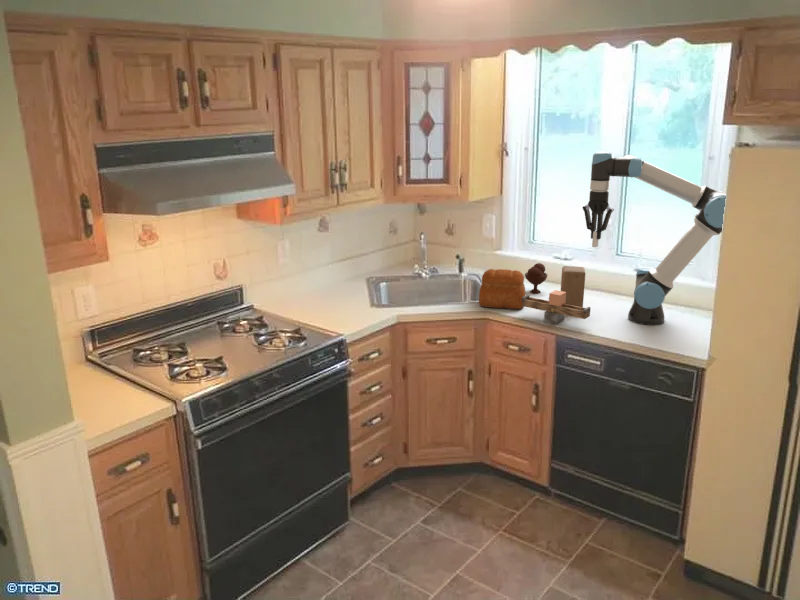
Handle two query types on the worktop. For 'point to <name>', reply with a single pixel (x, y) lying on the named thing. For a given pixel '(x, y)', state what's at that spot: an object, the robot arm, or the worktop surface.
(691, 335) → the worktop surface
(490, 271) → the bread
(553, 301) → the block
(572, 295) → the wooden block
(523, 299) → the beam
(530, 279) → the ice cream bowl
